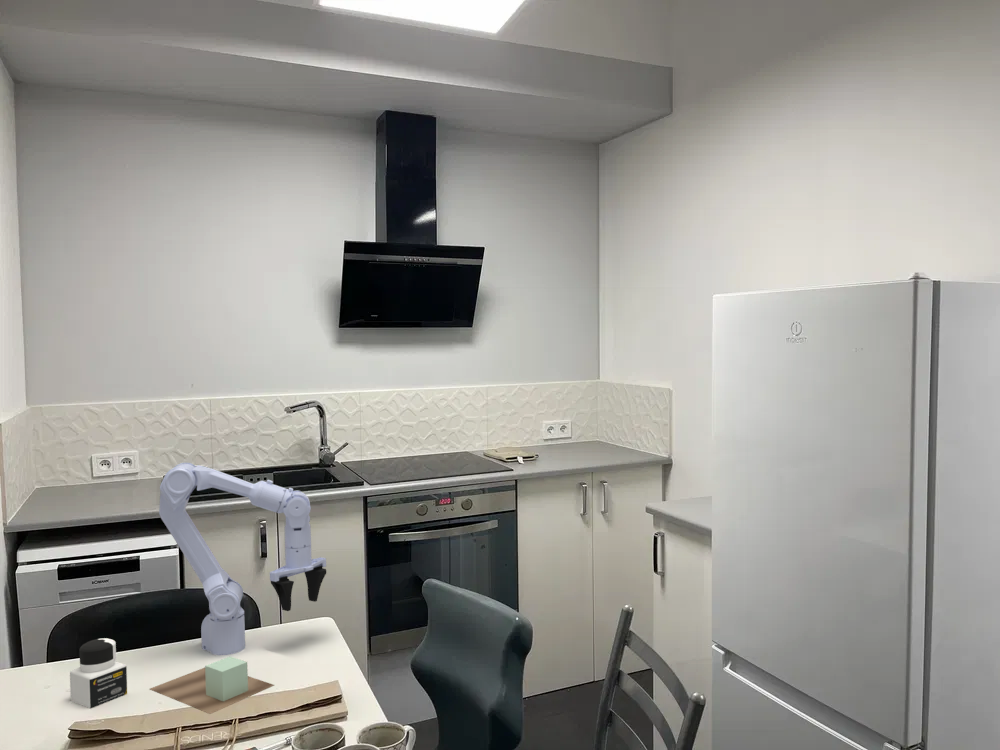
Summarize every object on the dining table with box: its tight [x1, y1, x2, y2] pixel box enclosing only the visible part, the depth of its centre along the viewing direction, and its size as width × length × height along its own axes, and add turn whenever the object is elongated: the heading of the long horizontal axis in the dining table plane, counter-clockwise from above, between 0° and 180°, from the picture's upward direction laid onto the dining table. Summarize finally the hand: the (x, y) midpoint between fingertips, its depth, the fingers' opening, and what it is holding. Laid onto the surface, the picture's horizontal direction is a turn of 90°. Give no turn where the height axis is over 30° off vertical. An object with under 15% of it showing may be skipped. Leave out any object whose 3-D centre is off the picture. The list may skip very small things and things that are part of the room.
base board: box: [149, 667, 275, 715], centre depth 142 cm, size 20×14×4 cm
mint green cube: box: [204, 655, 249, 701], centre depth 139 cm, size 5×5×6 cm
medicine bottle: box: [69, 637, 128, 709], centre depth 139 cm, size 7×7×12 cm
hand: (299, 605), depth 166 cm, fingers open, 7 cm apart
